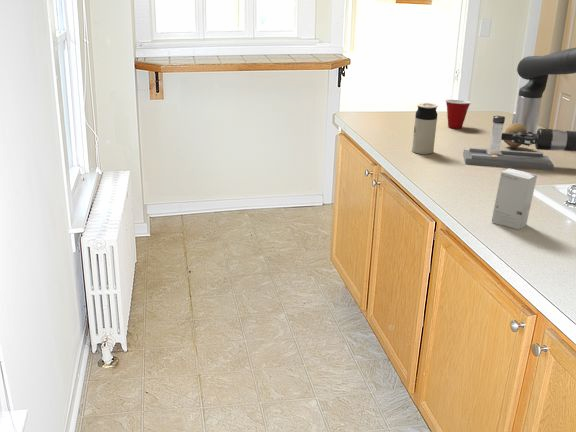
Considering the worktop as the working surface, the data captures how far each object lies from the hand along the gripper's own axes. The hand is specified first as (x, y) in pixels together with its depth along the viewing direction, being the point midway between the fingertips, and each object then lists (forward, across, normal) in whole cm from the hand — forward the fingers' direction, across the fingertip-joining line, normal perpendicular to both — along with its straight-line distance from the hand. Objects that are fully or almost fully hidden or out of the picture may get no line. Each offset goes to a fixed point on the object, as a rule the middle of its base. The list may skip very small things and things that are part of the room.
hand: (500, 136), depth 238 cm
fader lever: (+2, 0, +7) cm, 7 cm away
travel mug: (+27, -6, +10) cm, 29 cm away
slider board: (-3, 0, +10) cm, 10 cm away
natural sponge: (-9, -22, +10) cm, 25 cm away
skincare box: (+4, +63, +10) cm, 64 cm away
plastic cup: (+12, -51, +10) cm, 53 cm away
